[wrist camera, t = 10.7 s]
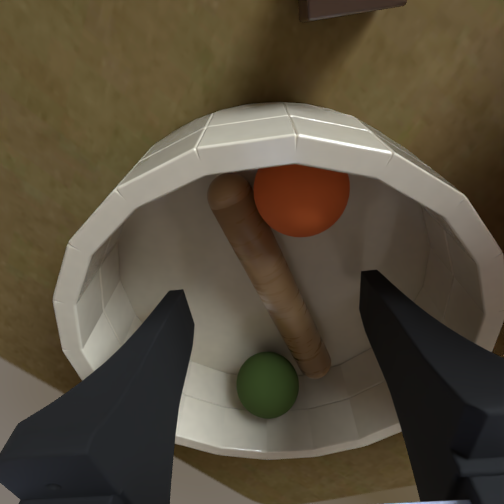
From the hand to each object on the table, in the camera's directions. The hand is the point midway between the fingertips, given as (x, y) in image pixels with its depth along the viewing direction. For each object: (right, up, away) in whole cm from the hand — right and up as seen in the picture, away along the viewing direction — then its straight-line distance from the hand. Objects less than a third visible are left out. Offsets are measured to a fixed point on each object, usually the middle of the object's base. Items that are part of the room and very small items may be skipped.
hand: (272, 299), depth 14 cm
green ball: (0, -4, +2) cm, 5 cm away
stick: (0, 0, +1) cm, 1 cm away
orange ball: (+1, +4, -3) cm, 5 cm away
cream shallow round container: (0, +1, +1) cm, 2 cm away
